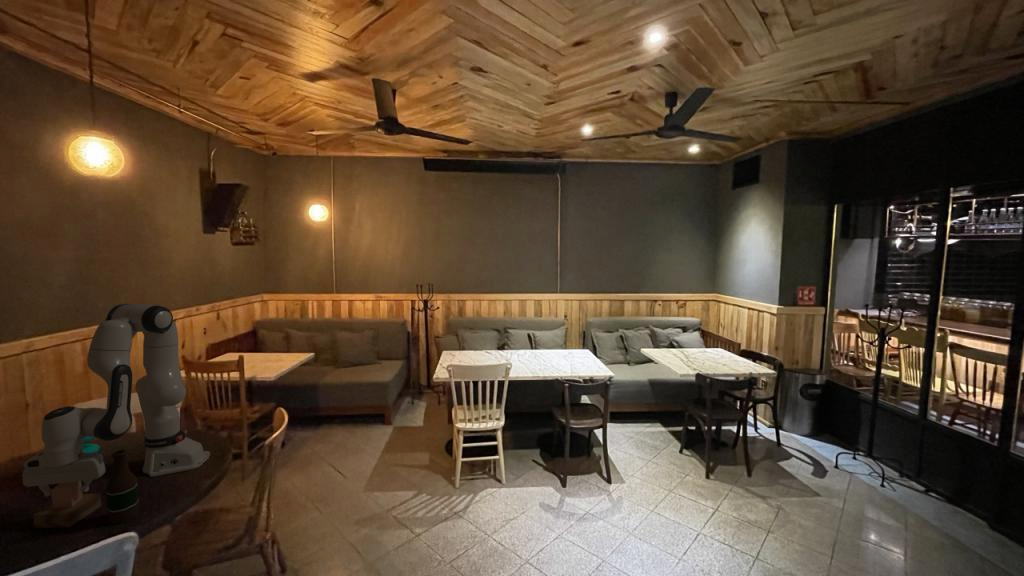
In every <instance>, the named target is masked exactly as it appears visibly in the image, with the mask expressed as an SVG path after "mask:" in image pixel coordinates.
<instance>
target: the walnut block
mask: <svg viewBox="0 0 1024 576" xmlns="http://www.w3.org/2000/svg"><path fill="white" fill-rule="evenodd" d="M82 495H83V498H82V499H81V500H80V501H78V502H77V503H76V504H75V505H74V506H72V507H67V508H60V509H53V504H52V503H51V504H49V505H47V506H45V507H44V508H42V509H40V510H38V511H37V512H35V513H34V514H33V515H32V517H33V518H32V519H33V520H32V521H33V528H34V529H47V528H50V529H51V528H54V529H55V528H71V527H73V526H75V524H77V523H79V520H80V521H81V520H83V519H84V518H86V517H87V516H88V514H89V515H91V513H93V512H94V511H96V510H98V509H99V508H100V507H102V494H101V493H82ZM85 516H86V517H85ZM82 518H83V519H82ZM76 522H77V523H76Z"/></svg>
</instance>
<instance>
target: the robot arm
mask: <svg viewBox="0 0 1024 576" xmlns="http://www.w3.org/2000/svg"><path fill="white" fill-rule="evenodd" d="M95 329H96V330H95V332H94V333H93V336H92V339H91V342H90V344H89V348H88V352H87V357H86V361H87V362H86V363H87V367H88V368H89V369H90V371H92V372H93V373H94V374H96V375H98V376H99V377H100V379H101V378H102V379H103V381H104V382H105V383H106V386H107V397H106V408H101V407H88V408H86V407H85V408H84V407H83V408H82V407H77V406H73V405H69V406H63V407H59V408H56V409H53V410H50V412H47V414H45V415H44V416H43V418H42V421H41V441H42V442H43V445H44V447H43V449H42V452H40V453H38V454H36V455H34V456H32V457H30V458H29V459H27V460H26V461H24V462H23V468H24V470H23V472H22V484H23V486H25V487H26V488H31V487H38V489H39V490H40V491H42V492H43V494H44V498H46V497H52V495H51V490H52V489H53V488H51V487H50V485H59V484H60V483H68V482H76V481H81V482H82V483H83V485H82V487H81V488H80V490H81V491H80V492H82V493H86V492H88V491H89V489H90V484H91V483H92V481H93V480H99V479H100V478H101V477H103V475H104V474H105V473H106V466H105V461H104V456H103V454H101V453H100V452H93V453H83V446H82V445H83V443H82V439H83V438H85V437H88V436H89V437H95V438H94V439H96V438H97V439H99V440H103V441H107V442H108V441H110V442H111V441H114V440H118V439H119V438H121V437H123V436H125V434H127V432H128V431H129V430H130V429H131V426H132V425H133V415H132V414H133V413H132V410H131V404H132V390H133V389H132V388H133V370H132V368H131V363H130V362H131V353H132V348H133V347H132V346H133V339H134V337H135V335H136V334H138V333H141V332H142V334H143V341H142V342H143V343H142V350H143V351H142V365H143V367H144V370H145V373H146V375H143V376H142V377H140V378H139V379H138V380H137V381H136V383H135V386H134V389H135V392H136V394H137V397H138V401H139V406H140V409H141V412H142V415H143V420H144V421H143V422H144V432H145V434H144V435H145V436H144V439H143V440H144V442H143V443H144V449H145V457H144V463H143V467H142V472H143V473H144V474H147V475H148V476H149V477H151V478H153V477H158V476H163V475H169V474H173V473H174V474H175V473H179V472H185V471H191V470H195V469H198V468H199V467H201V466H202V465H204V464H205V463H206V462H207V461H208V460H207V459H210V457H209V456H211V452H210V451H209V450H204V448H203V444H202V443H201V442H199V441H196V440H194V439H191V438H189V437H187V436H186V434H187V432H188V429H186V430H185V431H183V430H182V428H181V426H180V425H181V424H180V412H179V409H178V408H177V405H178V404H180V403H181V402H183V400H184V399H185V398H186V396H187V388H186V387H185V385H184V382H183V378H182V372H181V368H180V364H179V334H178V328H177V324H176V322H175V321H174V316H173V313H172V312H171V310H170V309H169V308H167V307H165V306H162V305H154V304H149V303H122V304H117V305H115V306H113V307H112V308H111V309H110V310H109V311H108V313H107V315H106V318H105V320H104V321H102V322H100V324H98V326H97V328H95ZM205 461H206V462H205ZM204 462H205V463H204ZM203 463H204V464H203ZM197 467H198V468H197Z"/></svg>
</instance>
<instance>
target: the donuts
mask: <svg viewBox="0 0 1024 576" xmlns="http://www.w3.org/2000/svg"><path fill="white" fill-rule="evenodd" d="M94 439H96V438H95V437H89V436H88V437H85V438H83V439H82V446H83V453H93V452H97V453H99V450H100V449H101V448H100V445H98V444H97V443H88V442H91V441H93V440H94Z"/></svg>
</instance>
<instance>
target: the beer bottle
mask: <svg viewBox="0 0 1024 576" xmlns="http://www.w3.org/2000/svg"><path fill="white" fill-rule="evenodd" d="M127 454H128V451H127V450H126V449H119V450H117V451H114V452H113V453H112V456H111V457H112V458H113V460H112V461H113V462H112V463H113V464H112V465H113V466H112V468H113V469H112V476H111V478H110V479H109V481H107V484H106V488H105V495H106V508H107V519H108V522H109V523H111V524H114V525H117V524H123V523H126V522H128V521H130V520H131V519H134V518H136V516H137V515H138V513H139V511H140V500H139V484H138V477H137V476H136V474H135V473H133V472H131V470H130V468H129V461H128V456H127Z"/></svg>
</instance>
